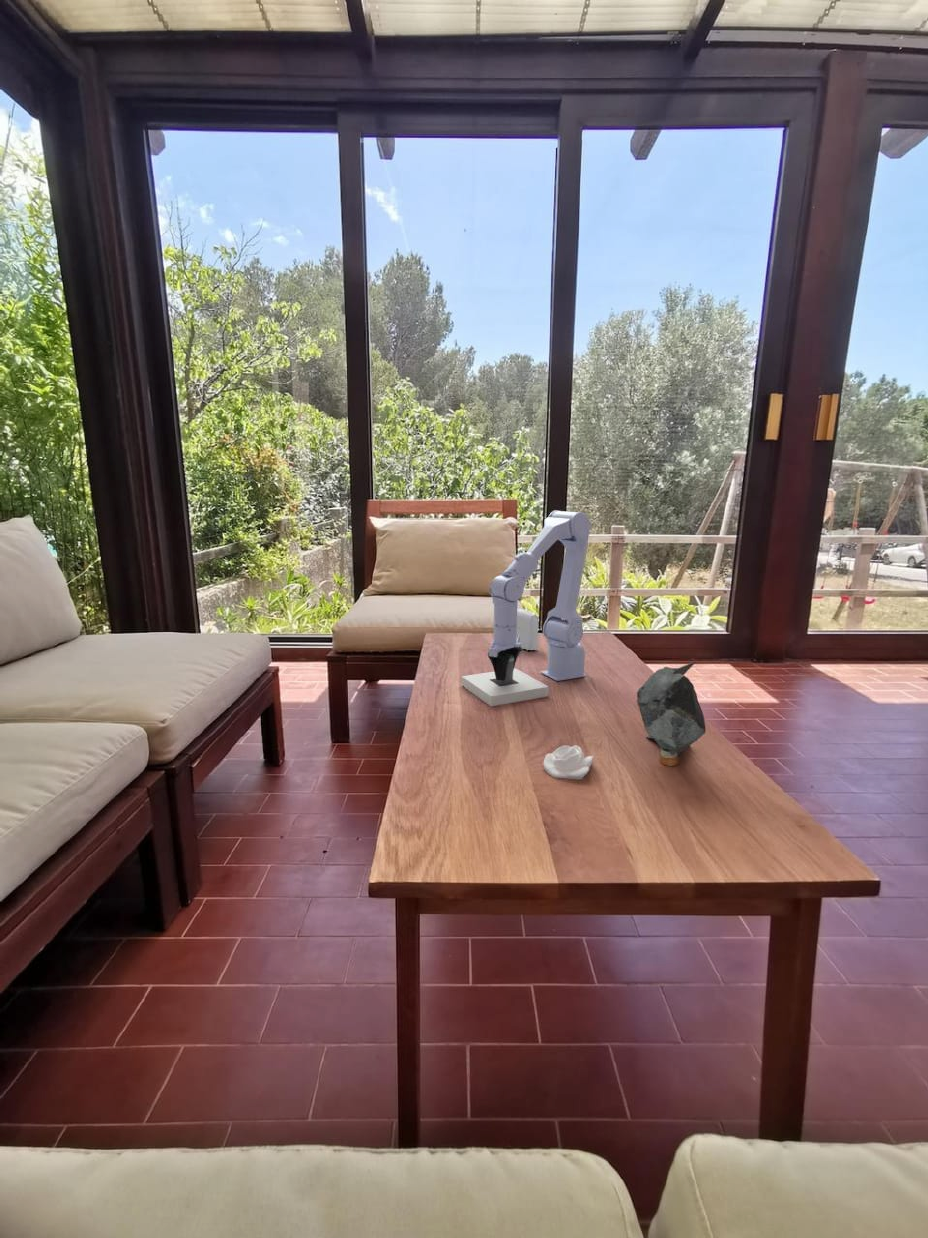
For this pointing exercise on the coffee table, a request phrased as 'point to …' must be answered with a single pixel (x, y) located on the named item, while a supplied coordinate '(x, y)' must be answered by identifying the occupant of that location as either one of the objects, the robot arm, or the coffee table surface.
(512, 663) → the peg
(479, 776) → the coffee table surface
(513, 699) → the socket block
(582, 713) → the coffee table surface
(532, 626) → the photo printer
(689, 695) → the grey rock on stand
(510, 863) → the coffee table surface
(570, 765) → the rose
